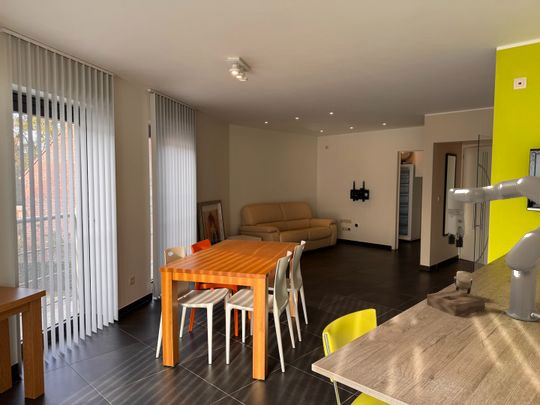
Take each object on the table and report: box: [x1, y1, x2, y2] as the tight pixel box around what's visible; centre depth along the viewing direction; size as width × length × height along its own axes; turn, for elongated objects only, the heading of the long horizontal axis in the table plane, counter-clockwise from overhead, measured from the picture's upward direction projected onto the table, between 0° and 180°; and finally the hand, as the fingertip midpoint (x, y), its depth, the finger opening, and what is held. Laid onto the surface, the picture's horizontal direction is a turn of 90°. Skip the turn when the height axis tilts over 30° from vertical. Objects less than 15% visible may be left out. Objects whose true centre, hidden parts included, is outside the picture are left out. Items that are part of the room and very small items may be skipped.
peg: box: [456, 270, 472, 297], centre depth 178 cm, size 6×6×11 cm
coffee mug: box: [453, 275, 473, 295], centre depth 193 cm, size 12×9×10 cm
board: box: [426, 289, 486, 317], centre depth 177 cm, size 16×20×5 cm
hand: (455, 245), depth 188 cm, fingers open, 9 cm apart
